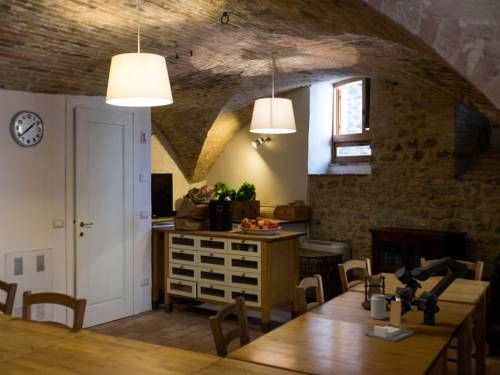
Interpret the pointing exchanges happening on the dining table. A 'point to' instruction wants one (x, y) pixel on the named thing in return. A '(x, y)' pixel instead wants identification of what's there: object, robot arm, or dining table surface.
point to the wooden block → (395, 313)
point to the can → (378, 306)
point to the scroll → (373, 288)
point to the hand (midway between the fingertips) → (398, 317)
